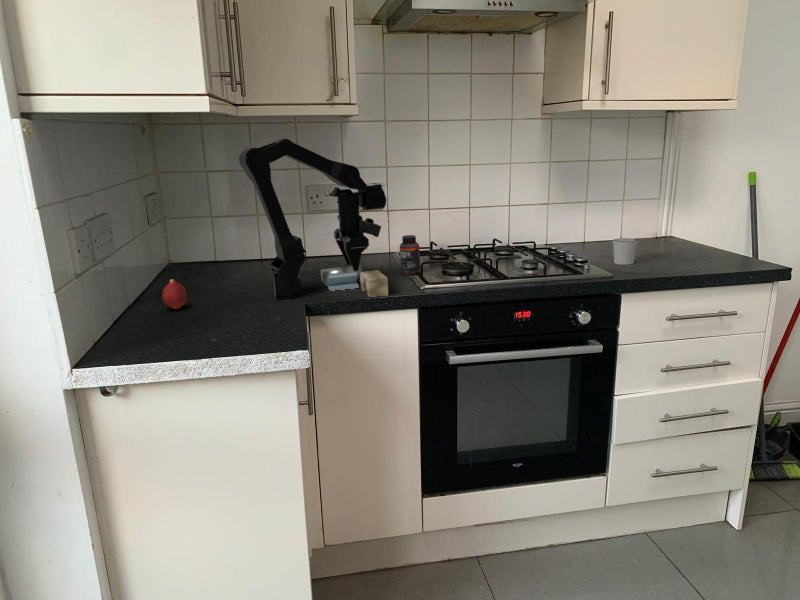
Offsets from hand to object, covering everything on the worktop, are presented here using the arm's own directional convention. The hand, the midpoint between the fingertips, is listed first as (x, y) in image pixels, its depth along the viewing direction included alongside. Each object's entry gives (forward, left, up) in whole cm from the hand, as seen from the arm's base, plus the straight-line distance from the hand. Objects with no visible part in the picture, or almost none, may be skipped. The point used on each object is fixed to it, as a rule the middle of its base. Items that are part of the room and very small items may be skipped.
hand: (352, 267), depth 165 cm
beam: (+4, -10, -5) cm, 12 cm away
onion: (-47, -5, -5) cm, 48 cm away
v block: (-3, 0, -5) cm, 6 cm away
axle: (-3, 0, -1) cm, 4 cm away
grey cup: (+82, -9, -5) cm, 83 cm away
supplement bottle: (+19, +7, -5) cm, 21 cm away
